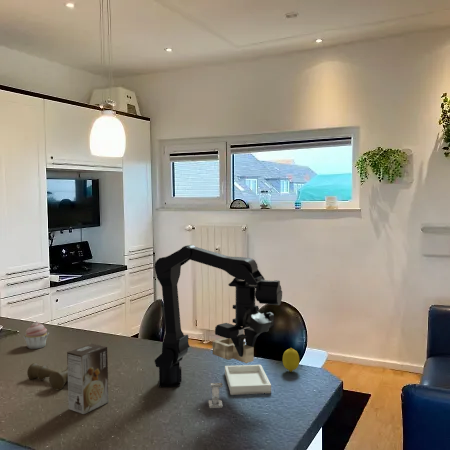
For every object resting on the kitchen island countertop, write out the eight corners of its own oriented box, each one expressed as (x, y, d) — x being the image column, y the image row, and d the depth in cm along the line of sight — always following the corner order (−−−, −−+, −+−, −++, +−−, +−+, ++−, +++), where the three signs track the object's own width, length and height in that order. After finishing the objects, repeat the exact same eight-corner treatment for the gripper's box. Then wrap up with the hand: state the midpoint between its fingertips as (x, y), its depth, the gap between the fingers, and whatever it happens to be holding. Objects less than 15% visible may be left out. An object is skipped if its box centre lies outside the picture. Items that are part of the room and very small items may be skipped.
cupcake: (43, 350, 178) (43, 324, 178) (19, 350, 178) (18, 324, 178) (53, 343, 188) (52, 318, 187) (29, 342, 188) (29, 318, 187)
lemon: (298, 375, 153) (299, 351, 153) (281, 374, 154) (282, 350, 154) (299, 369, 159) (299, 345, 158) (283, 368, 160) (283, 344, 159)
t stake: (209, 408, 129) (209, 386, 129) (208, 402, 133) (208, 381, 132) (222, 407, 129) (222, 386, 129) (221, 402, 133) (221, 381, 133)
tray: (271, 393, 139) (271, 384, 139) (230, 394, 138) (230, 386, 138) (260, 372, 156) (260, 364, 156) (224, 373, 155) (224, 365, 155)
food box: (93, 397, 136) (92, 342, 135) (109, 402, 133) (108, 346, 132) (67, 409, 128) (66, 351, 127) (83, 415, 125) (82, 355, 124)
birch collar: (212, 354, 142) (212, 341, 142) (229, 349, 147) (229, 336, 147) (241, 364, 133) (241, 351, 133) (258, 359, 138) (258, 345, 138)
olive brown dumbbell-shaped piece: (43, 374, 156) (93, 381, 148) (20, 385, 147) (72, 393, 139) (42, 356, 155) (92, 362, 148) (19, 367, 146) (71, 374, 139)
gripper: (241, 312, 124) (240, 370, 125) (288, 302, 136) (287, 355, 137) (213, 305, 132) (213, 359, 133) (260, 296, 145) (260, 346, 145)
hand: (245, 355), depth 137 cm, fingers closed on birch collar, 3 cm apart
